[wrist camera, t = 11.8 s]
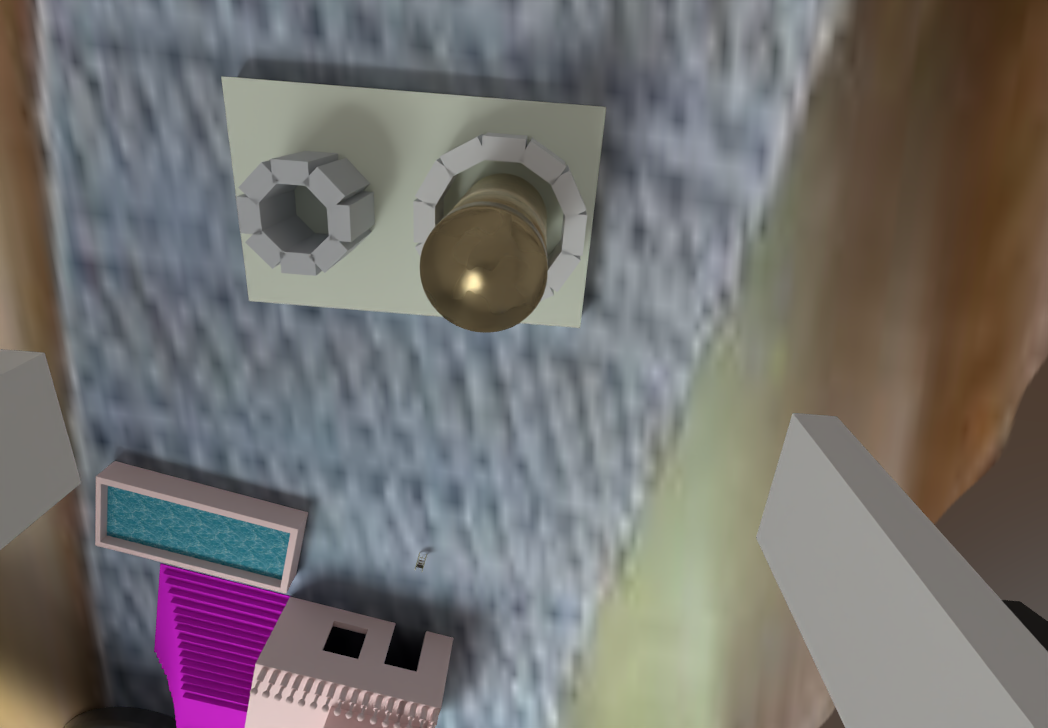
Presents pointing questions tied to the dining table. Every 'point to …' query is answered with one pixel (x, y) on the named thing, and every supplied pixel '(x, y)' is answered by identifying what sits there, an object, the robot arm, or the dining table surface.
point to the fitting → (488, 256)
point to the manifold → (396, 187)
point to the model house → (255, 615)
